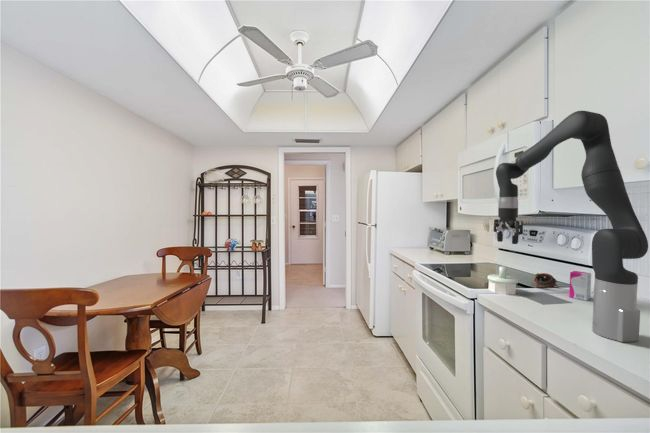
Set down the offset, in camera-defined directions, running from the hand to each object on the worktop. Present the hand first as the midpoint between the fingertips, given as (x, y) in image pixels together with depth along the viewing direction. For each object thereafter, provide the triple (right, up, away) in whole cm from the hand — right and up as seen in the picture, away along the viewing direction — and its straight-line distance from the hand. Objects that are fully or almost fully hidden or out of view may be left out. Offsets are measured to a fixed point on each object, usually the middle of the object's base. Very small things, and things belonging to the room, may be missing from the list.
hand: (507, 242), depth 128 cm
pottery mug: (+23, -23, +8) cm, 34 cm away
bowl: (-1, -23, +2) cm, 23 cm away
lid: (-1, -18, +1) cm, 18 cm away
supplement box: (+26, -24, -8) cm, 36 cm away
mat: (+10, -23, -8) cm, 27 cm away
